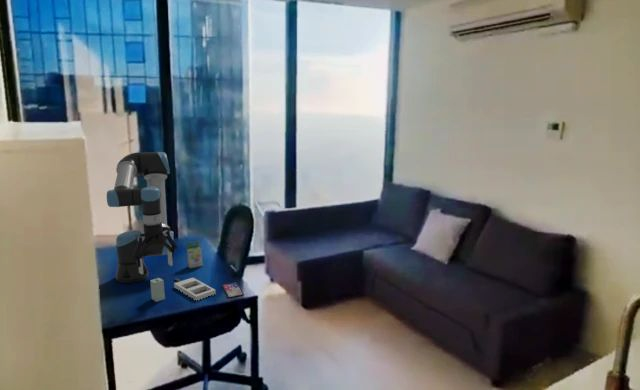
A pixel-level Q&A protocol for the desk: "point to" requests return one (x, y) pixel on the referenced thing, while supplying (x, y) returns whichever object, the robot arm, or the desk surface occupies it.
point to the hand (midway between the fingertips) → (156, 269)
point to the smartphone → (232, 290)
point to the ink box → (194, 255)
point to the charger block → (157, 289)
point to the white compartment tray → (194, 288)
